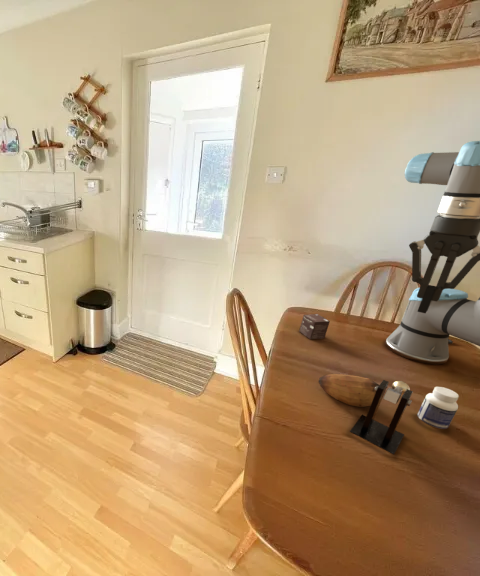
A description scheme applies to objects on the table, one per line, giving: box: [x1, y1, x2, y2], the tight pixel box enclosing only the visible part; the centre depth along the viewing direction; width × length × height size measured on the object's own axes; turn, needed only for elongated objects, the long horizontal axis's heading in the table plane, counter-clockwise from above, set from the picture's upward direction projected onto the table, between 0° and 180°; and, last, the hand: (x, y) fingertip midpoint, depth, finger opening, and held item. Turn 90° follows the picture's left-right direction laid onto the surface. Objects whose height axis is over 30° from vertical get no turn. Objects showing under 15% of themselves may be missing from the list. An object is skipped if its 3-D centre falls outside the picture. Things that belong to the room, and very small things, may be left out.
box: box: [298, 313, 330, 340], centre depth 117 cm, size 6×6×7 cm
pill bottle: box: [416, 386, 460, 430], centre depth 75 cm, size 5×5×10 cm
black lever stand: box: [349, 379, 414, 455], centre depth 71 cm, size 9×8×14 cm
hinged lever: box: [382, 380, 411, 405], centre depth 73 cm, size 15×3×3 cm, turn 127°
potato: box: [318, 373, 380, 408], centre depth 83 cm, size 8×14×8 cm
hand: (422, 310), depth 78 cm, fingers closed
